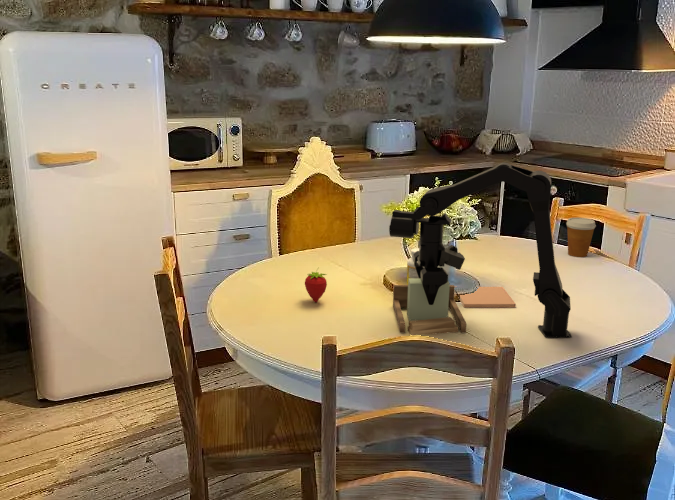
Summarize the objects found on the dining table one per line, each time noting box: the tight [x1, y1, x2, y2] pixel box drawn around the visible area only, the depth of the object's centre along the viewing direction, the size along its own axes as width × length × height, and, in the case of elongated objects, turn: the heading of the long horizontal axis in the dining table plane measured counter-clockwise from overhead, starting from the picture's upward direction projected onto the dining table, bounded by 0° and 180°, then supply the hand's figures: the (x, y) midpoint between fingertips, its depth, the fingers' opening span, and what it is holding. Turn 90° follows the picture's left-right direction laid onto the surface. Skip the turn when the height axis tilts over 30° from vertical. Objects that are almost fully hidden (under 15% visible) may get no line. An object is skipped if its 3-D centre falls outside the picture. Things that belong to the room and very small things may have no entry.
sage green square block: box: [406, 278, 451, 321], centre depth 173 cm, size 4×10×10 cm, turn 91°
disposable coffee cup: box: [566, 217, 597, 258], centre depth 229 cm, size 10×10×12 cm
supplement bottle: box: [406, 247, 419, 285], centre depth 190 cm, size 7×7×13 cm
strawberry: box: [304, 268, 328, 303], centre depth 183 cm, size 6×8×10 cm
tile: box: [459, 286, 517, 309], centre depth 188 cm, size 14×14×1 cm
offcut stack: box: [407, 316, 459, 336], centre depth 166 cm, size 4×12×3 cm, turn 102°
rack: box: [392, 284, 467, 334], centre depth 173 cm, size 18×16×6 cm
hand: (428, 298), depth 173 cm, fingers open, 9 cm apart
